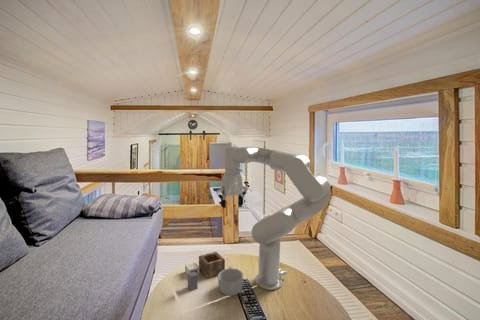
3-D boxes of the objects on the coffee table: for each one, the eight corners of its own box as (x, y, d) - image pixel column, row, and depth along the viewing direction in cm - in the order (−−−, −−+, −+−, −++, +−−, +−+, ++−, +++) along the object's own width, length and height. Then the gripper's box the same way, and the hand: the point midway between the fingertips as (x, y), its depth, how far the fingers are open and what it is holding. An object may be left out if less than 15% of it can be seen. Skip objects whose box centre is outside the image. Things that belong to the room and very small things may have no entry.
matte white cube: (194, 271, 124) (194, 261, 124) (199, 277, 119) (199, 267, 118) (185, 274, 121) (185, 264, 121) (189, 280, 116) (189, 270, 116)
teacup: (240, 301, 102) (240, 282, 101) (214, 298, 104) (215, 280, 103) (245, 281, 116) (245, 265, 115) (222, 279, 117) (222, 263, 117)
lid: (198, 281, 116) (198, 265, 115) (208, 292, 108) (208, 275, 107) (176, 288, 110) (176, 272, 109) (186, 301, 102) (185, 283, 101)
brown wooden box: (216, 266, 129) (216, 251, 128) (224, 275, 121) (224, 259, 120) (198, 271, 124) (198, 256, 123) (206, 280, 116) (206, 264, 115)
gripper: (243, 170, 129) (242, 202, 130) (213, 172, 120) (213, 206, 121) (251, 171, 122) (250, 205, 124) (220, 174, 113) (219, 210, 115)
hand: (232, 206), depth 123 cm, fingers open, 9 cm apart
